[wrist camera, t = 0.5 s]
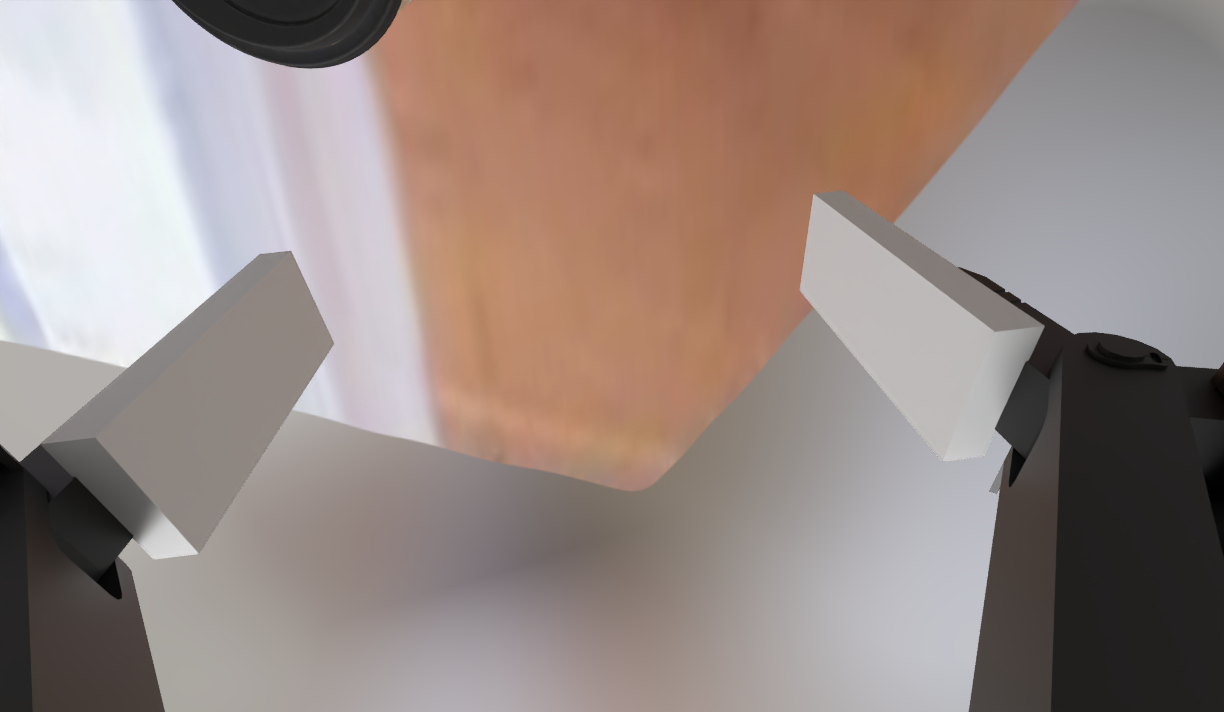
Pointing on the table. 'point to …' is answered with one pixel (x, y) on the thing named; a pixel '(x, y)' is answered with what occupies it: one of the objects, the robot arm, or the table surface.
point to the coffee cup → (296, 27)
